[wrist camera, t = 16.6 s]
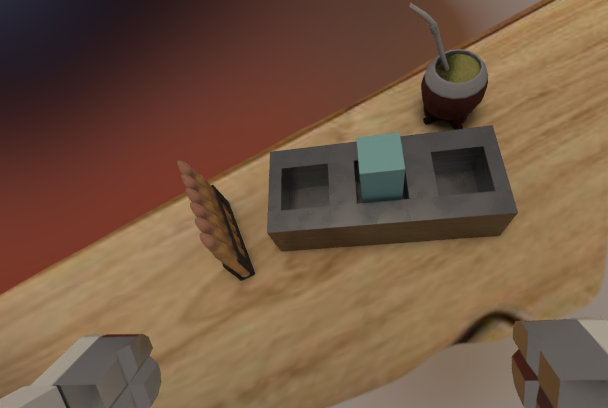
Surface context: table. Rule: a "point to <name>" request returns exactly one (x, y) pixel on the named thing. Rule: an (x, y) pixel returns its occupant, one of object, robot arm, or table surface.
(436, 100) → the mate gourd
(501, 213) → the block with square holes
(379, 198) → the square peg
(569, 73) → the table surface
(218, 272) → the table surface
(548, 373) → the robot arm
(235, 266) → the ammunition clip
